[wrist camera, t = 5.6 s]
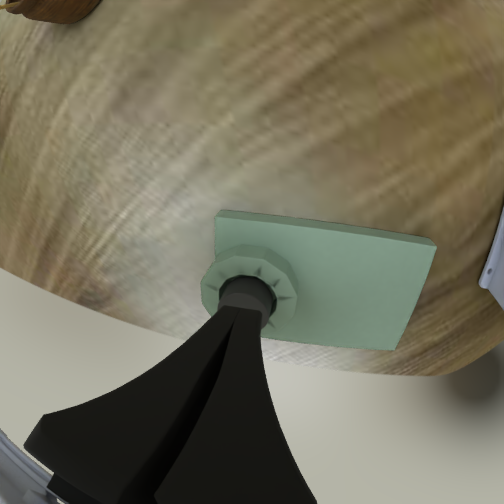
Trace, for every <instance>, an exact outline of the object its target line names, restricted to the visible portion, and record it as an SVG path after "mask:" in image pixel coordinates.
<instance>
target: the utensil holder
mask: <svg viewBox="0 0 504 504" xmlns="http://www.w3.org/2000/svg"><path fill="white" fill-rule="evenodd" d="M99 1H100V0H6V4H5V5H1V6H0V9H4V8H6V10H7V12H10V13H13V14H21V13H22V14H23V15H24V16H25V17H26V18H28V19H32V20H37V21H44V22H51V23H58V24H70V23H74V22H76V21H78V20H80V19H82V18H83V17H85V16H86V15H87V14H88V13H89V12H90V11H91V10H92V9H93V8H94V7H95V6H96V5H97V4H98V2H99Z"/></svg>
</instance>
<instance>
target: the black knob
mask: <svg viewBox="0 0 504 504" xmlns="http://www.w3.org/2000/svg"><path fill="white" fill-rule="evenodd" d="M272 302H273V298H272V294H271V292H270V290H269V288H268V287H267V286H266V285H265V284H264V283H263V282H261V281H259V280H257V279H255V278H251V277H240V278H236V279H234V280H232V281H231V282H230V283H229V284H228V285H227V286H226V288H225V290H224V293H223V295H222V297H221V299H220V301H219V303H218V307H217V311H218V310H219V309H220V308H221V307H222V306H223V305H227V306H233V307H240V308H246V309H253V310H260V312H261V313H262V326H261V330H262V329H263V328H264V327H265V326H266V325H267V323H268V321H269V316H270V311H271V306H272Z"/></svg>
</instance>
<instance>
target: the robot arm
mask: <svg viewBox="0 0 504 504" xmlns="http://www.w3.org/2000/svg"><path fill="white" fill-rule="evenodd" d="M489 269H490V270H489ZM488 270H489V271H488ZM479 285H480V287H481V288H487V289H488V290H489V291H490V293H491V294H492V295H493V296H494V298H495V299H496V300H497V302H498V303H499V304H500V306H501V307H502V309H503V310H504V207H503V211H502V214H501V218H500V222H499V225H498V229H497V232H496V235H495V238H494V242H493V245H492V248H491V250H490V253H489V256H488V259H487V262H486V264H485V267H484V269H483V272H482V274H481V277H480V279H479ZM261 326H262V313H261V312H260V310H253V309H246V308H240V307H233V306H227V305H223V306H222V307H221V308H220V309H219V310H218V311H217V312H216V313H215V314H214V315H213V316H212V317H211V318H210V319H209V320H208V321H207V322H206V323H205V324H204V325H203V326H202V327H201V328H200V329H199V330H198V331H197V332H196V333H194V334H193V335H192V336H191V337H190V338H189V339H188V340H187V341H186V342H185V343H183V345H181V346H180V347H179V348H177V349H176V350H175V351H174V352H172V353H171V354H170V355H169V356H167V357H166V358H165V359H163V360H162V361H161V362H159V363H158V364H157V365H155V366H154V367H153V368H151V369H149V370H148V371H146V372H145V373H143V374H142V375H140V376H139V377H137V378H135V379H133V380H132V381H130V382H128V383H126V384H124V385H123V386H121V387H119V388H117V389H115V390H113V391H111V392H109V393H107V394H104V395H102V396H100V397H98V398H95V399H93V400H90V401H88V402H85V403H83V404H80V405H77V406H74V407H71V408H67V409H64V410H60V411H57V412H53V413H49V414H44V415H43V416H42V418H41V419H40V420H39V422H38V424H37V425H36V426H35V428H34V429H33V431H32V432H31V434H30V435H29V437H28V438H27V440H26V442H25V443H24V448H25V450H26V451H28V452H29V453H30V454H31V455H32V456H34V457H35V458H36V459H37V460H38V461H40V462H41V463H42V464H44V465H45V466H46V467H47V468H49V469H50V470H51V471H53V472H54V474H53V476H52V475H51V474H50V473H48V472H47V471H46V470H44V469H43V468H42V467H41V466H39V465H38V464H37V463H36V462H34V461H33V460H32V459H31V458H30V457H28V456H27V455H26V454H25V453H24V452H23V451H22V450H20V449H19V448H18V447H17V446H16V445H15V444H14V443H13V442H12V441H11V440H10V439H9V438H8V437H7V435H6V434H5V433H4V432H3V431H2V430H1V429H0V504H60V503H58V502H57V498H58V499H59V500H60V501H62V502H63V503H65V504H317V501H316V499H315V497H314V496H313V494H312V492H311V490H310V489H309V487H308V485H307V483H306V482H305V480H304V478H303V476H302V474H301V472H300V470H299V468H298V466H297V464H296V462H295V460H294V458H293V456H292V454H291V451H290V449H289V446H288V444H287V441H286V439H285V437H284V434H283V432H282V429H281V427H280V424H279V421H278V418H277V415H276V412H275V409H274V406H273V402H272V399H271V396H270V392H269V388H268V384H267V379H266V374H265V370H264V364H263V357H262V350H261V338H260V337H261Z"/></svg>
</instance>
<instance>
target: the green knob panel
mask: <svg viewBox="0 0 504 504" xmlns="http://www.w3.org/2000/svg"><path fill="white" fill-rule="evenodd" d="M436 248H437V246H436V245H435V244H434V243H433V242H432V241H431V240H430V238H426V237H420V236H414V235H409V234H403V233H397V232H391V231H385V230H378V229H372V228H365V227H359V226H352V225H345V224H338V223H331V222H323V221H316V220H308V219H300V218H292V217H284V216H275V215H267V214H258V213H248V212H239V211H229V210H221V211H220V212H219V213H218V214H217V215H216V216H215V260H214V262H213V263H212V265H211V266H210V268H209V269H208V271H207V273H206V274H205V276H204V277H203V279H202V281H201V296H202V304H203V305H204V307H205V308H206V310H207V311H208V313H209V314H210V315H211V317H212V316H213V315H214V314H215V313H216V312H217V307H218V303H219V301H220V299H221V297H222V295H223V293H224V290H225V288H226V286H227V285H228V284H229V283H230V282H231V281H232V280H234V279H236V278H240V277H251V278H255V279H257V280H259V281H261V282H263V283H264V284H265V285H266V286H267V287H268V288H269V290H270V292H271V294H272V298H273V302H272V306H271V311H270V316H269V321H268V323H267V325H266V326H265V327H264V328H263V329H262V330H261V337H262V338H269V339H275V340H283V341H290V342H298V343H306V344H315V345H324V346H335V347H346V348H359V349H374V350H395V348H396V346H397V344H398V342H399V340H400V338H401V336H402V334H403V332H404V330H405V328H406V326H407V323H408V321H409V319H410V317H411V315H412V312H413V310H414V308H415V305H416V303H417V301H418V298H419V296H420V293H421V291H422V288H423V286H424V283H425V280H426V278H427V275H428V272H429V269H430V266H431V264H432V261H433V258H434V255H435V251H436Z"/></svg>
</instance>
